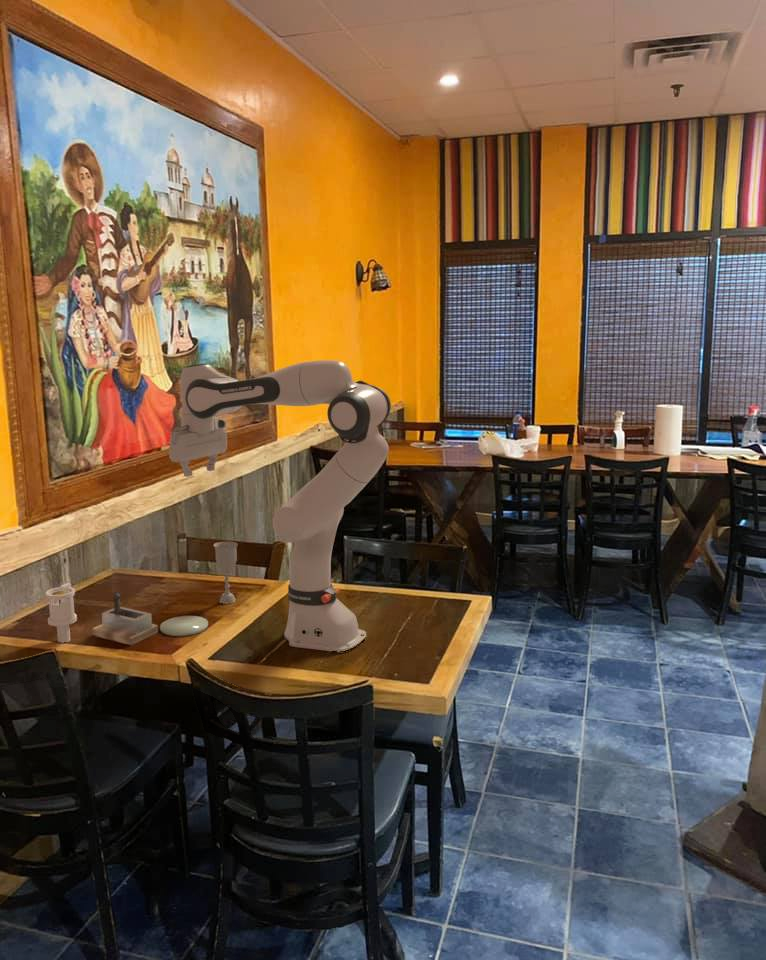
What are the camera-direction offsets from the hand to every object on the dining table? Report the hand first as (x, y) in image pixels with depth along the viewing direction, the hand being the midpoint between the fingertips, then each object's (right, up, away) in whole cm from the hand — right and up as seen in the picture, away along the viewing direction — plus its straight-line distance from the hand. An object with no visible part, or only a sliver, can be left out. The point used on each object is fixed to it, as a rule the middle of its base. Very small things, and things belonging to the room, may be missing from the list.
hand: (199, 473), depth 210 cm
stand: (-20, -44, -3) cm, 48 cm away
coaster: (-5, -43, +2) cm, 43 cm away
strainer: (-34, -45, -8) cm, 57 cm away
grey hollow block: (-19, -42, -3) cm, 46 cm away
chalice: (+3, -39, +22) cm, 45 cm away
